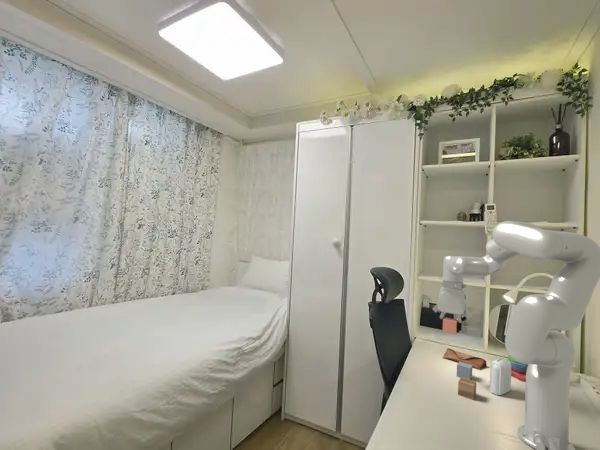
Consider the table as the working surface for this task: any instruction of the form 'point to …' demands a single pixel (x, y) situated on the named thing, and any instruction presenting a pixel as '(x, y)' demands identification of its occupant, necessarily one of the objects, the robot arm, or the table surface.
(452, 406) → the table surface
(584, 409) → the table surface
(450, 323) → the pink cube
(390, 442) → the table surface
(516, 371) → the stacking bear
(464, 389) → the tan block
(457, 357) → the sunglasses case
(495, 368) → the photo printer
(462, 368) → the slate block
